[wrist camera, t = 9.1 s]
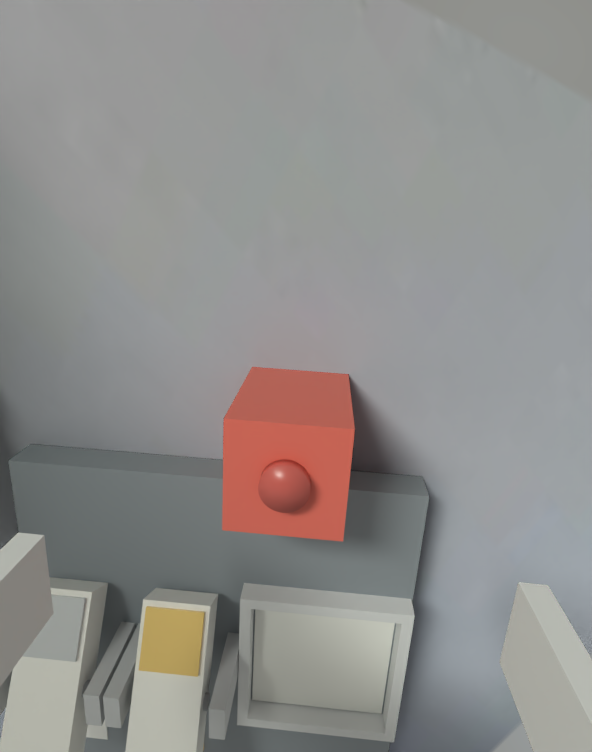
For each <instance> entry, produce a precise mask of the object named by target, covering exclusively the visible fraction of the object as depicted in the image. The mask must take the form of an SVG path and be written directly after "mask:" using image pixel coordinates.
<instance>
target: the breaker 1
mask: <svg viewBox="0 0 592 752" xmlns="http://www.w3.org/2000/svg"><path fill="white" fill-rule="evenodd" d="M49 579H50V588H51V596H52V605H53V615H52V616H51V618H50V619H49V620H48V622H47V623H46V624H45V626H44V627H43V629H42V630H41V631H40V633H39V634H38V635H37V637H36V638H35V640H34V641H33V642H32V644H31V645H30V646H29V648H28V649H27V650H26V652H25V653H24V655H23V656H22V657H21V659H20V660H19V661H18V663H17V664H16V666H15V667H14V668H13V670H12V676H11V682H10V688H9V694H8V700H7V705H6V711H5V717H4V723H3V729H2V735H1V740H0V752H84V748H85V741H86V734H87V727H88V725H87V724H86V717H85V708H84V699H83V694H84V692H85V690H86V688H87V687H88V685H89V683H90V681H91V679H92V677H93V675H94V673H95V671H96V664H97V657H98V650H99V643H100V636H101V629H102V622H103V615H104V608H105V601H106V594H107V587H108V583H105V582H94V581H84V580H74V579H63V578H53V577H49Z"/></svg>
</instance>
